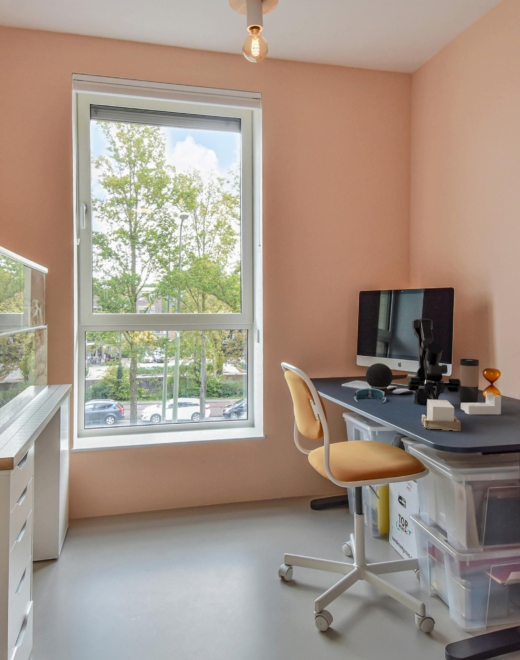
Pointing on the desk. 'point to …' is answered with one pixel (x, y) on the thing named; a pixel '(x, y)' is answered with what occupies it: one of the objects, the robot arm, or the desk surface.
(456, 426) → the birch slot
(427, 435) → the desk surface
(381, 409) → the desk surface
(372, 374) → the black ball on stand
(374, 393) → the sunglasses
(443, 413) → the white cardboard box
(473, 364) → the travel mug
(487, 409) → the bracket
